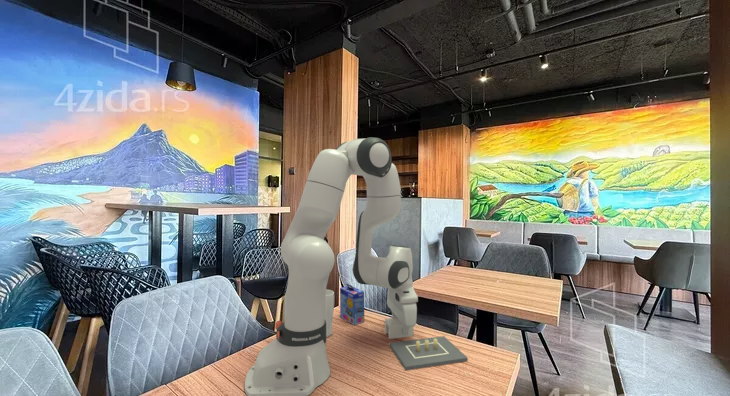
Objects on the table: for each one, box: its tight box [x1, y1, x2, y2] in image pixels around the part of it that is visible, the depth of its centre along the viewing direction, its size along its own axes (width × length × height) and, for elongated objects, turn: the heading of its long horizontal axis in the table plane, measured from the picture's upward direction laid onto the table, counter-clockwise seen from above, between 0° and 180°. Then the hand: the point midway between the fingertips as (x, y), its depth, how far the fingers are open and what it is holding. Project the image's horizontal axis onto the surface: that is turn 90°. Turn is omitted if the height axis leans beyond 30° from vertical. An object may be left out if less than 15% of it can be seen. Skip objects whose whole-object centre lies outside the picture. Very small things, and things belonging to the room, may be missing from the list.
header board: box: [389, 335, 469, 371], centre depth 93 cm, size 20×14×4 cm
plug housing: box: [384, 317, 415, 340], centre depth 105 cm, size 9×5×5 cm, turn 104°
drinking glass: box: [325, 289, 335, 337], centre depth 105 cm, size 7×7×15 cm
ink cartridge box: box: [339, 283, 365, 326], centre depth 117 cm, size 10×6×14 cm, turn 40°
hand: (400, 328), depth 105 cm, fingers open, 8 cm apart
